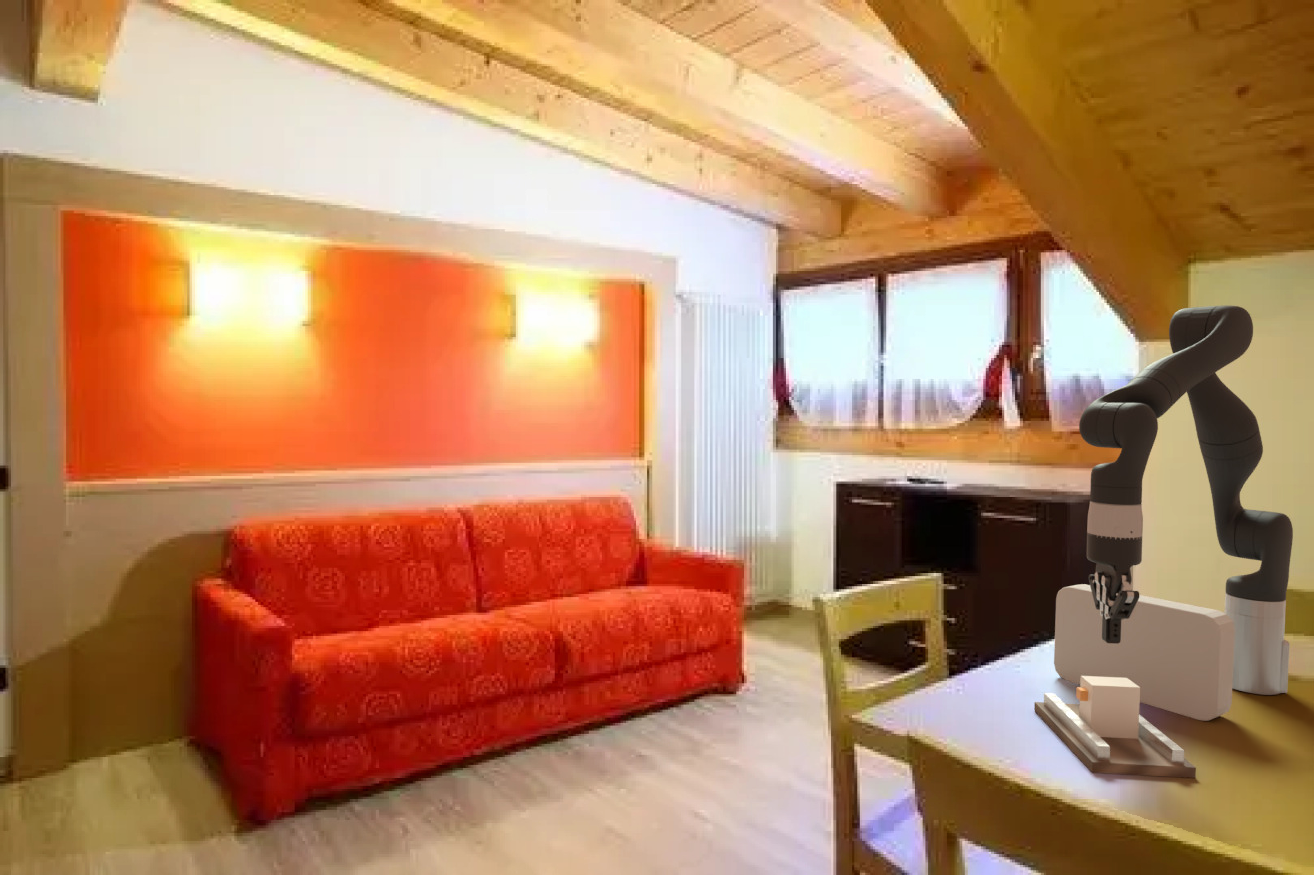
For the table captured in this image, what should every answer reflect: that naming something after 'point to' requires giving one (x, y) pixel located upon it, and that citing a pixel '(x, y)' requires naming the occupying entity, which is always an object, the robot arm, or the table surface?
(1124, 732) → the block
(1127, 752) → the mounting board
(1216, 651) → the rounded white slab
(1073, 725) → the mounting rail
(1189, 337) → the robot arm
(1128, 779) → the table surface
